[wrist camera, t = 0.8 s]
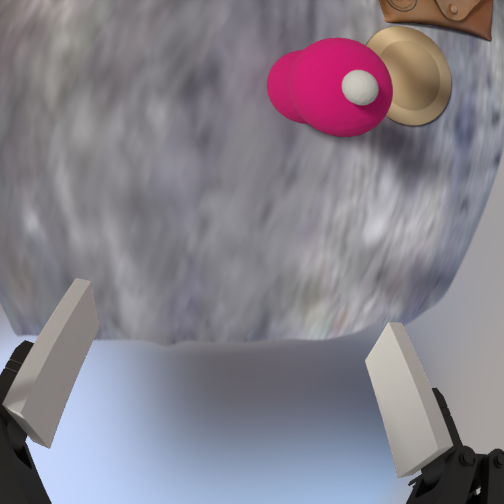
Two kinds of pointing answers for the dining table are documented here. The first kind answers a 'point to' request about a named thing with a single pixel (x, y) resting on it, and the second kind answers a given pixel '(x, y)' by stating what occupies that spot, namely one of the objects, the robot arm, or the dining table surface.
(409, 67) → the coaster
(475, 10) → the sunglasses case
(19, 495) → the robot arm
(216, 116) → the dining table surface
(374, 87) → the pepper mill
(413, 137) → the dining table surface
